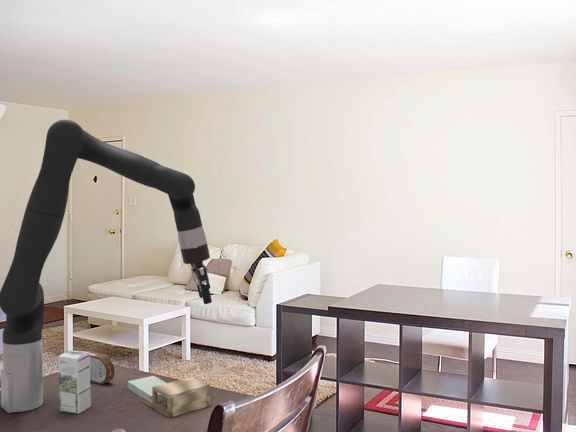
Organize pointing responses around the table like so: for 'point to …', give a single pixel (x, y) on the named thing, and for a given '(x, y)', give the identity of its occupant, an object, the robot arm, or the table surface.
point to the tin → (100, 368)
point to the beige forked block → (180, 397)
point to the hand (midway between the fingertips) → (205, 300)
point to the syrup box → (74, 381)
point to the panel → (146, 387)
